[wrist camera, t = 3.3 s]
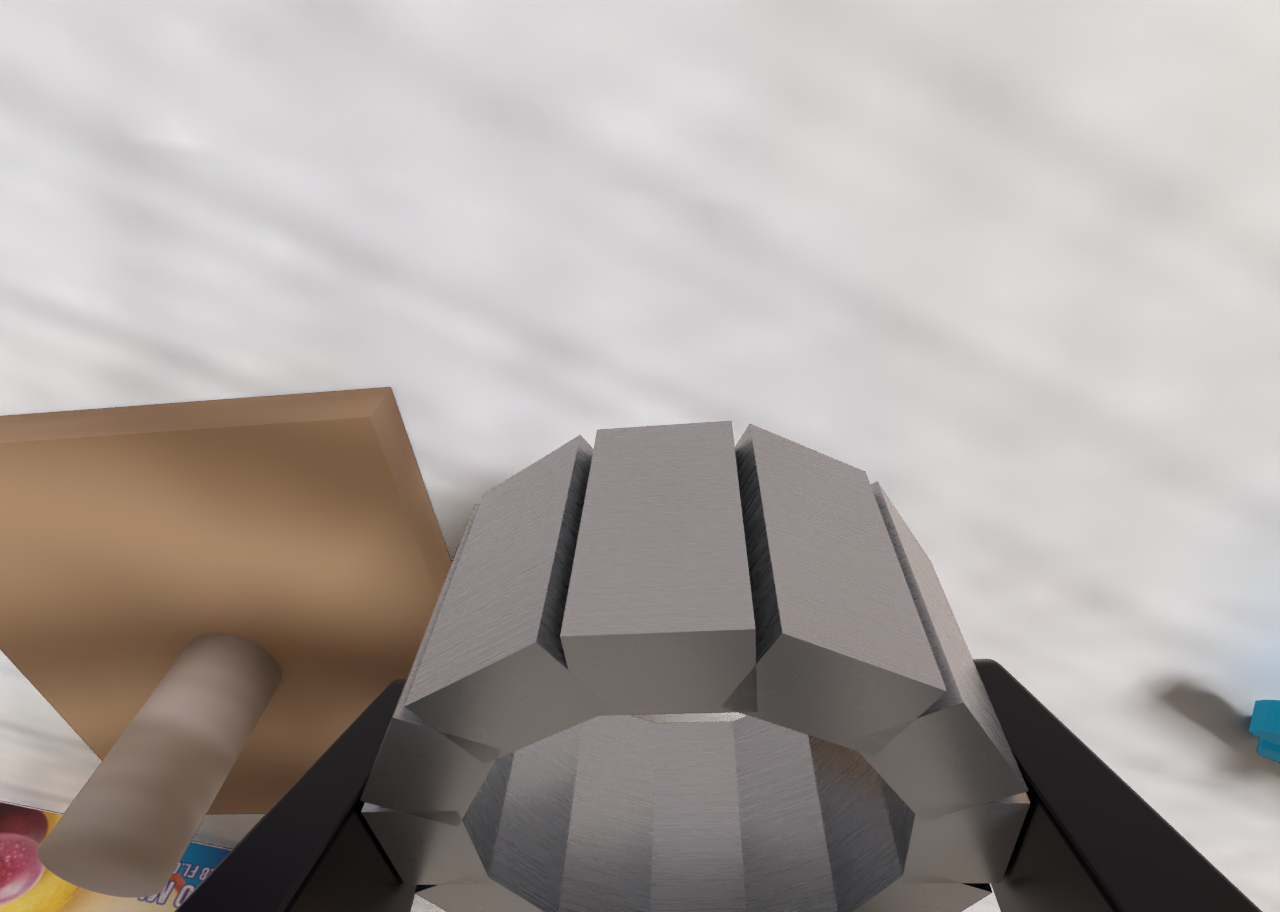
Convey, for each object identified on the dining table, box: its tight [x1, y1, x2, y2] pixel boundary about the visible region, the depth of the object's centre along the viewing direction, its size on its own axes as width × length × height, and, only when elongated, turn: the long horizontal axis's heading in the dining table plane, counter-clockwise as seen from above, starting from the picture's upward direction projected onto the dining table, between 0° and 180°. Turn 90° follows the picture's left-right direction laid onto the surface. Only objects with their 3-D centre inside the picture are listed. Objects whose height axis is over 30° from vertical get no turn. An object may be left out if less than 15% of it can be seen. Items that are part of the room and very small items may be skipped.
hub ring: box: [360, 421, 1030, 912], centre depth 8 cm, size 6×6×3 cm
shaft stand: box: [0, 387, 452, 898], centre depth 17 cm, size 14×12×6 cm
